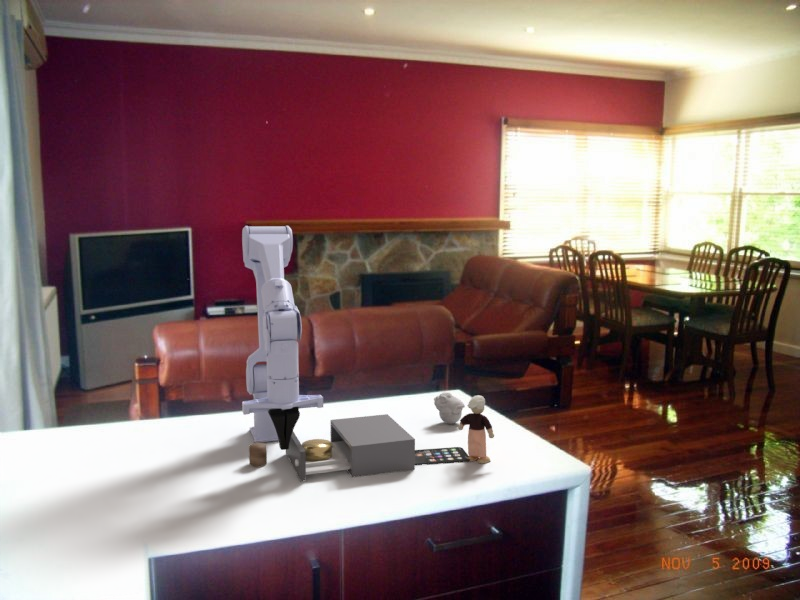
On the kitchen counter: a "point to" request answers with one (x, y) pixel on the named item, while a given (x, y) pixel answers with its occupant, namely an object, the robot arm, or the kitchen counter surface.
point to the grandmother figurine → (477, 430)
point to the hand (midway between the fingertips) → (284, 447)
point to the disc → (317, 450)
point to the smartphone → (440, 456)
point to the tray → (303, 467)
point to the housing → (375, 444)
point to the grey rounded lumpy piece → (449, 407)
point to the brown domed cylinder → (258, 454)
